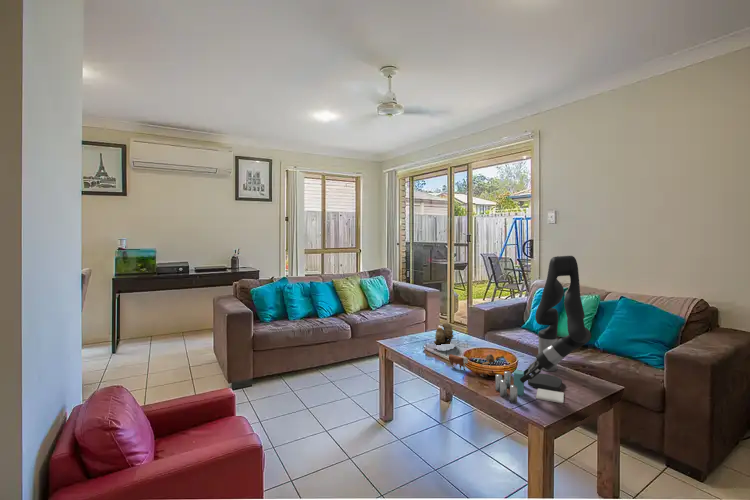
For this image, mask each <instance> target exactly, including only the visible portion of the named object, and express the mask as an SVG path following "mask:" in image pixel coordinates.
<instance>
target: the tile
mask: <svg viewBox="0 0 750 500" xmlns="http://www.w3.org/2000/svg"><path fill="white" fill-rule="evenodd" d="M564 395H565V393H564V392H562V391H551V390H545V389H539V388H537V390H536V396H535V399H536V400H541V401H546V402H547V401H549V402H552V403H553V402H554V403H558V404H564V397H565V396H564Z"/></svg>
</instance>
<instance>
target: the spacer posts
mask: <svg viewBox="0 0 750 500" xmlns="http://www.w3.org/2000/svg"><path fill="white" fill-rule="evenodd" d="M516 370H517V371H523V370H521V369H516ZM511 375H512V374H511V371H509V370H504V372H503V374H498V373H497V374H495V391H497V392H499V396H500V397H501V398H507V395H508V391H507V390H508V388H509V402H510V403H511V404H517V403H518V395H517V386H516V385H514V384H511V381H512V380H511Z"/></svg>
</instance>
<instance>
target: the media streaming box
mask: <svg viewBox="0 0 750 500" xmlns="http://www.w3.org/2000/svg"><path fill="white" fill-rule="evenodd" d="M529 375H530V376H531V375H532V374H529ZM527 385H528V386H530V387H532V388H535V389H538V388H539V389H545V390H551V391H557V392H560V391H561V388H562V386H563V379H562V378H560V377H558V376H556V375H552V374H547V373H541V372H540V373H539V374H537V375H536V376H535V377H534V378H532V379H531V380H530V379H528V380H527Z"/></svg>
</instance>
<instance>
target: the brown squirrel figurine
mask: <svg viewBox="0 0 750 500" xmlns="http://www.w3.org/2000/svg"><path fill="white" fill-rule="evenodd" d="M453 338H454V330H453V327H452V325H451V323H448V322H445V321H444V322H442V327H440V326H439V327H437V328H436V331H435V337H434V341H433V343H434V345H435V344H436V345H441V344H450V342H452V340H453Z"/></svg>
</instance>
